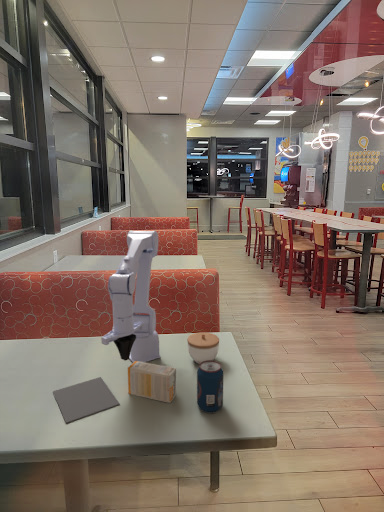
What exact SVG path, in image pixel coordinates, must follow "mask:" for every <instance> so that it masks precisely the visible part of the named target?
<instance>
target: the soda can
mask: <svg viewBox="0 0 384 512" xmlns="http://www.w3.org/2000/svg"><path fill="white" fill-rule="evenodd" d="M198 365H199V366H198V368H197V371H196V404H197V407H198V408H199V409H200V411H202V412H204V413H207V414H215V413H218V412H219V411H220V410H221V408H222V407H223V405H224V370H223V368H222V364H221V363H220V362H218V361H217V360H214V359H213V360H207V361H203V362H201V363H200V364H198Z"/></svg>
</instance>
